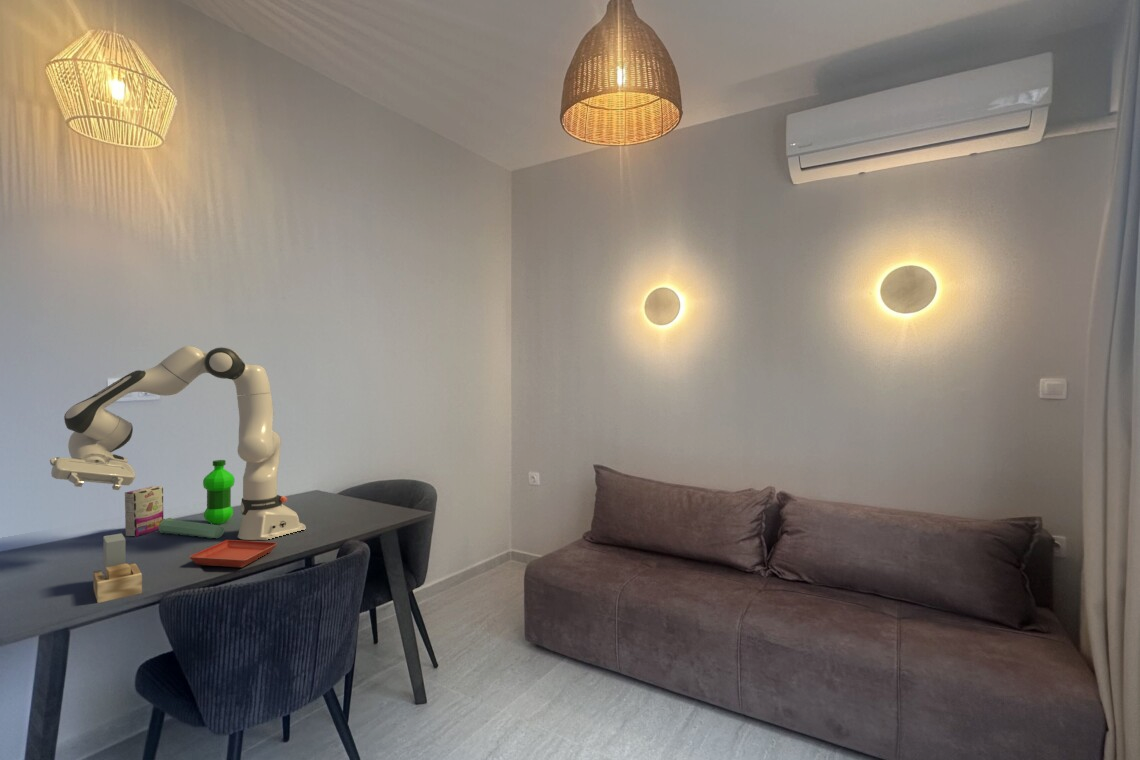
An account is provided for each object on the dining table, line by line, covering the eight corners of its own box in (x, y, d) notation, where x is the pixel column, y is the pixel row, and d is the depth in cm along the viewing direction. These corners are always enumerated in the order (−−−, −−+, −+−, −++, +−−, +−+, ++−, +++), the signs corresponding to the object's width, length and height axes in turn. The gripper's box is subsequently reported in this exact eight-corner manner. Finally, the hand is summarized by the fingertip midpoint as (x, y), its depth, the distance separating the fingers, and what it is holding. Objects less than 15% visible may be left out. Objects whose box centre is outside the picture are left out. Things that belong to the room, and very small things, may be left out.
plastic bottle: (214, 518, 219) (215, 458, 218) (239, 519, 218) (240, 459, 218) (196, 525, 209) (197, 462, 208) (222, 526, 208) (223, 463, 208)
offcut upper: (127, 574, 147) (127, 563, 147) (130, 577, 144) (130, 566, 144) (105, 578, 143) (105, 567, 143) (109, 582, 141) (109, 571, 141)
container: (224, 520, 196) (170, 514, 201) (211, 531, 191) (155, 524, 196) (229, 533, 198) (175, 527, 204) (216, 544, 193) (161, 537, 199)
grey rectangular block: (121, 581, 154) (121, 533, 154) (125, 589, 149) (125, 539, 148) (103, 585, 151) (103, 536, 151) (106, 593, 146) (106, 542, 146)
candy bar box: (153, 527, 206) (153, 485, 205) (164, 528, 205) (164, 486, 204) (123, 536, 195) (124, 491, 194) (135, 537, 194) (135, 492, 193)
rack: (135, 584, 152) (135, 563, 152) (141, 596, 144) (141, 574, 144) (93, 593, 146) (93, 571, 146) (97, 606, 138) (97, 583, 138)
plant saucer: (278, 551, 181) (278, 541, 181) (244, 570, 163) (244, 559, 163) (226, 549, 182) (226, 539, 182) (187, 567, 164) (187, 556, 164)
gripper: (54, 448, 163) (60, 473, 155) (132, 458, 179) (141, 481, 171) (44, 465, 163) (49, 491, 155) (123, 474, 180) (132, 498, 172)
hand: (98, 486), depth 163 cm, fingers open, 8 cm apart
